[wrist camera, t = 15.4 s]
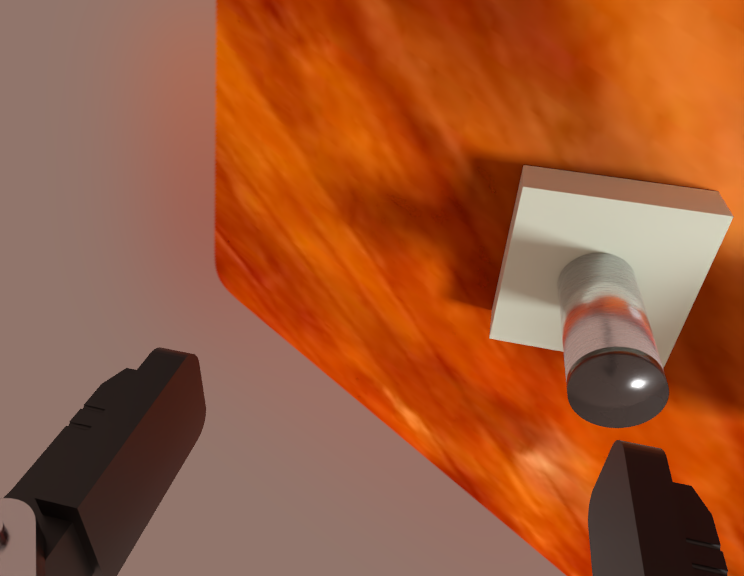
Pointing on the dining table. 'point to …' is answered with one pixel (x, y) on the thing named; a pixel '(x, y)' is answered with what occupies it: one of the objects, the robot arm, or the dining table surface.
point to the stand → (604, 249)
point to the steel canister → (608, 344)
